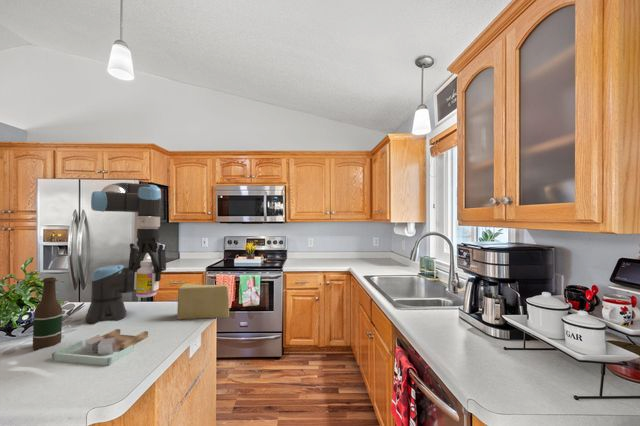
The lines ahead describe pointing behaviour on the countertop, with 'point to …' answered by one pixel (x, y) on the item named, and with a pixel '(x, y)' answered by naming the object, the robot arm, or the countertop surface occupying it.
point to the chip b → (107, 346)
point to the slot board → (125, 338)
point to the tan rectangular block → (202, 301)
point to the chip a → (93, 343)
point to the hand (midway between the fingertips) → (146, 289)
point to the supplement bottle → (145, 280)
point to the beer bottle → (47, 318)
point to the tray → (64, 356)
